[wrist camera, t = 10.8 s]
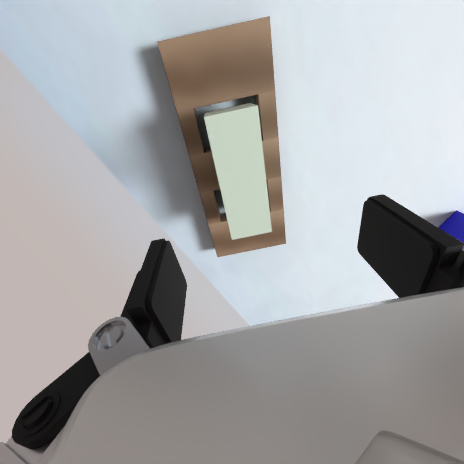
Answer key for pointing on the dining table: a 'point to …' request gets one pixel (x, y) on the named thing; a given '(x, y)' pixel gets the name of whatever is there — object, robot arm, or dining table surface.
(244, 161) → the tall sage green block
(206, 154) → the brown wooden board
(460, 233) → the cable clip
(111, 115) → the dining table surface
